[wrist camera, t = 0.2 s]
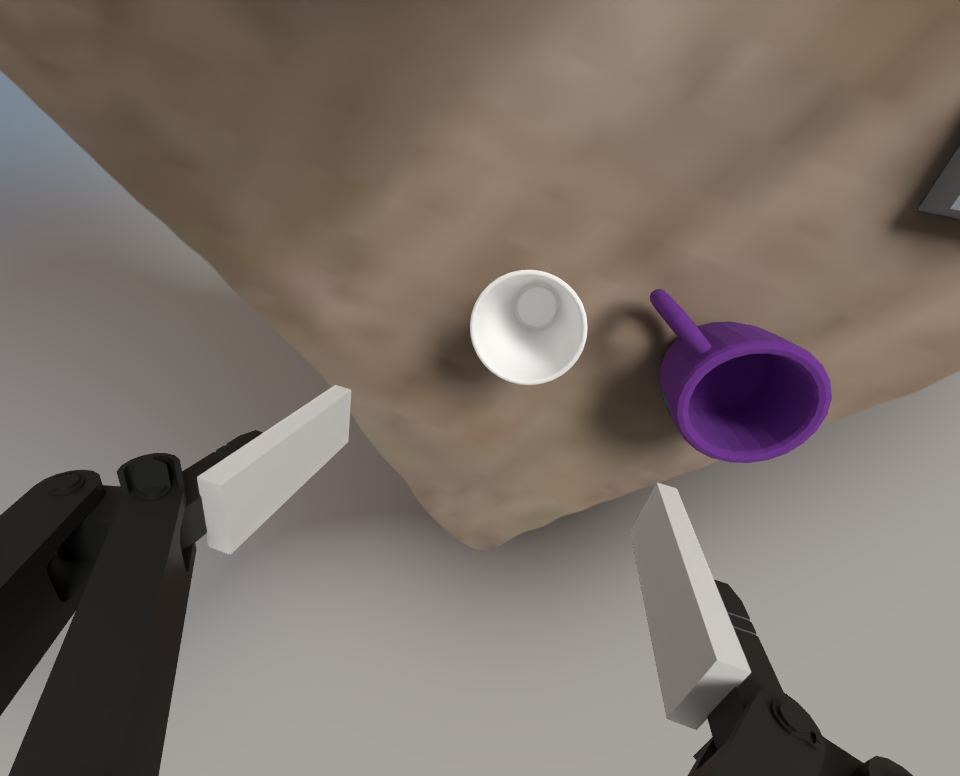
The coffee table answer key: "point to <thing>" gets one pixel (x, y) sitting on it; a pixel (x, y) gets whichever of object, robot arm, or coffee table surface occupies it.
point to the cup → (528, 327)
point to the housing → (945, 191)
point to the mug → (739, 387)
